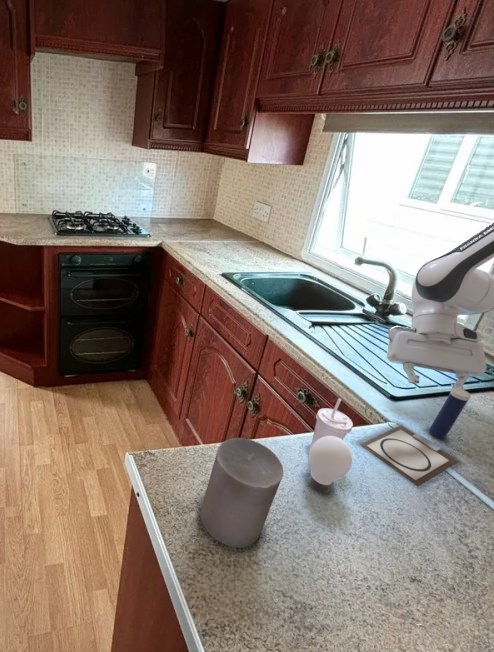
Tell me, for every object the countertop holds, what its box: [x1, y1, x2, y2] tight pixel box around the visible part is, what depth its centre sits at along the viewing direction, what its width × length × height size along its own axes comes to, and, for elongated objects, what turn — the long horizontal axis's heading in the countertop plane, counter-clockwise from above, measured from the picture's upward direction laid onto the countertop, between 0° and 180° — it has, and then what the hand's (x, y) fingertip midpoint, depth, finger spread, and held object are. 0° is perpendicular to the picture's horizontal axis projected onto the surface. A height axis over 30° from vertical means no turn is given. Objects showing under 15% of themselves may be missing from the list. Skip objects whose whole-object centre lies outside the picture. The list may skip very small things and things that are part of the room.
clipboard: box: [359, 424, 460, 487], centre depth 85 cm, size 12×16×1 cm
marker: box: [428, 387, 472, 439], centre depth 89 cm, size 3×3×12 cm
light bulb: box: [307, 436, 353, 494], centre depth 72 cm, size 7×7×11 cm
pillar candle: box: [199, 437, 284, 549], centre depth 62 cm, size 10×10×15 cm
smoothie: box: [309, 398, 354, 450], centre depth 79 cm, size 6×6×14 cm
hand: (435, 387), depth 95 cm, fingers open, 8 cm apart
